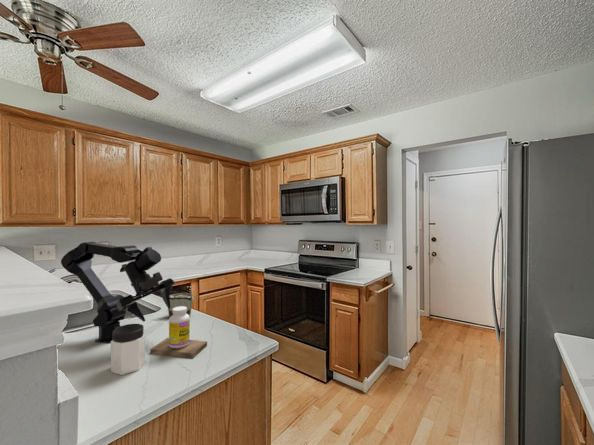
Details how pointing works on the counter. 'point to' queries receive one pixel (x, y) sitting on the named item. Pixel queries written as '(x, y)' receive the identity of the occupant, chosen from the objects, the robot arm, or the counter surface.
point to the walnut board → (179, 349)
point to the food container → (180, 302)
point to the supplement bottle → (179, 328)
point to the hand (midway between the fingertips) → (157, 314)
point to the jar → (127, 349)
